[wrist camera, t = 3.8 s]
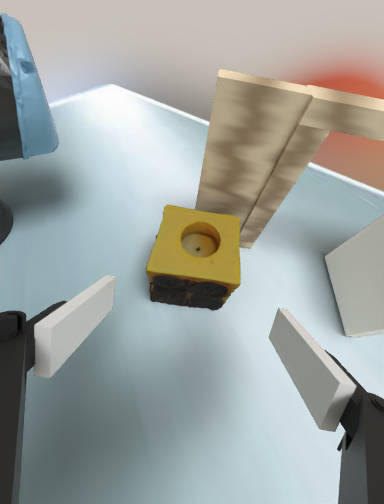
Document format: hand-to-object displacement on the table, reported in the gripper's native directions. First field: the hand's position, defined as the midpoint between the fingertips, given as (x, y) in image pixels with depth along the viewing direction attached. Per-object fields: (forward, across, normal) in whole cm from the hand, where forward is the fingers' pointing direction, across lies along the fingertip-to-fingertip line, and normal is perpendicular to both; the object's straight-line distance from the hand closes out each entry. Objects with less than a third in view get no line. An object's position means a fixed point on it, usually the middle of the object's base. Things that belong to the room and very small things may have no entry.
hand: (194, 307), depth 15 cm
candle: (+15, -1, -3) cm, 15 cm away
